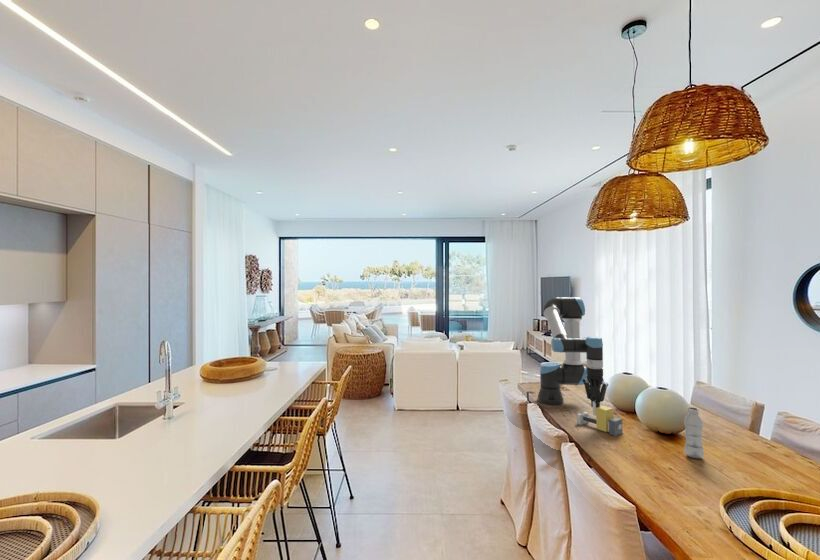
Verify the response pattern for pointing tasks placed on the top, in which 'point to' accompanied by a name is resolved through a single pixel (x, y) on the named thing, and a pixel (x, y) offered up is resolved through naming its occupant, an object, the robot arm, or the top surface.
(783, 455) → the top surface
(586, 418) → the grey slider rail
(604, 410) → the yellow rectangular block
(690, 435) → the plastic bottle
